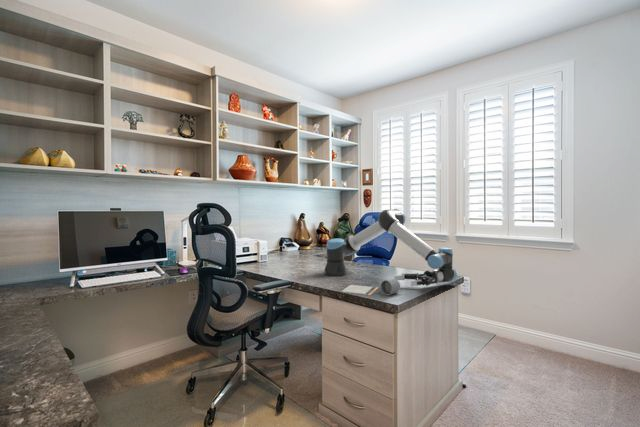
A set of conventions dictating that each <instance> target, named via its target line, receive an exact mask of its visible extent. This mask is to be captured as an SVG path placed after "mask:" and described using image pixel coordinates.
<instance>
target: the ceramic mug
mask: <svg viewBox="0 0 640 427" xmlns="http://www.w3.org/2000/svg"><path fill="white" fill-rule="evenodd" d="M400 289H401V284H400V282H399V280H398V281H397V280H394V279H384V280H383V281H381V283H380V287H379V288H378V290H379V292H381V293H382V294H383V295H385V296H389V295H393V294H397V293H398V292H400Z"/></svg>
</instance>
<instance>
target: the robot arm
mask: <svg viewBox="0 0 640 427" xmlns="http://www.w3.org/2000/svg"><path fill="white" fill-rule="evenodd" d="M406 220H407V219H406V215H405V213H404V212H403V211H402V210H401V209H398V208H394V209H384V210H382V211H381V212H380V213H379V214H378V216H377V220H376V222H373V223H372V224H371V225H369V226H367V227H366V228H364V229H363V230H361V231H360V232H357V233H356V234H354V235H349V236H347V237H345V238H344V239H343V238H341V237H339V238H336V237H335V238H330V239H328V240H327V242H326V265H325V268H324V271H323V272H324V273H323V274H324V275H325V276H330V277H338V276H345V275H347V268H346V264H345V257H348V256H353V255H356V254H357V252H359V250H361V247H362V246H364V245H365V244H367V243H369V242H371V241H372V240H374V239H375V238H377V237H379V236H381V235H382V234H384V233H388V234H392V236H394V237H395V238H396V239H398V240H399V241H401V242H402V243H403V244H405V245H406V246H407V247H408V248H410V249H411V250H412V251H413V252H414V253H415V254H417V255H418V256H420V258H422V259H424V261H426V262H427V265H428V267H430V268H431V269H429V270H426V271H424V272H423V273H418V272H415V273H401V274H398V275H394V277H393V278H394V280H397V281H398V282H399V281H405V280H410V286H411V287H418V286H426V287H428V286H430V285H433V284H436V285H438V284H439V283H446V282H453V281H455V280H456V279H457V276H458V275H457V274H458V273H457V271H456V270H455V269H456V268H453V255H454V254H453V249H452V248H451V247H439V248H438V251H437V250H435V249H434V248H433V247H432V246H430V245H429V244H428V243H426V242H424V240H422V239H421V238H420V237H418V236H417V235H415V233H413V232H412V231H410V230H409V229H407V227H406V226H404V224H405V223H406Z"/></svg>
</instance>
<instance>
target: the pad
mask: <svg viewBox="0 0 640 427" xmlns="http://www.w3.org/2000/svg"><path fill="white" fill-rule="evenodd" d="M373 288H374V287H373V286H366V285H358V284H357V285H356V284H350V285H348V286H347V287H345V288H344V289H342V290H341V293H349V294H356V295H365V296H366V294H367V293H369V292H371V291H372V289H373Z"/></svg>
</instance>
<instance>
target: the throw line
mask: <svg viewBox="0 0 640 427" xmlns="http://www.w3.org/2000/svg"><path fill="white" fill-rule="evenodd" d="M379 289H380V287H378V286H376V287H375V288H374V289H373V290H372V289H371V290H370V291H369V292H368V294H367V296H369V297H370V296H372V295H374V293H375V292H376V291H377V290H379Z"/></svg>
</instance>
